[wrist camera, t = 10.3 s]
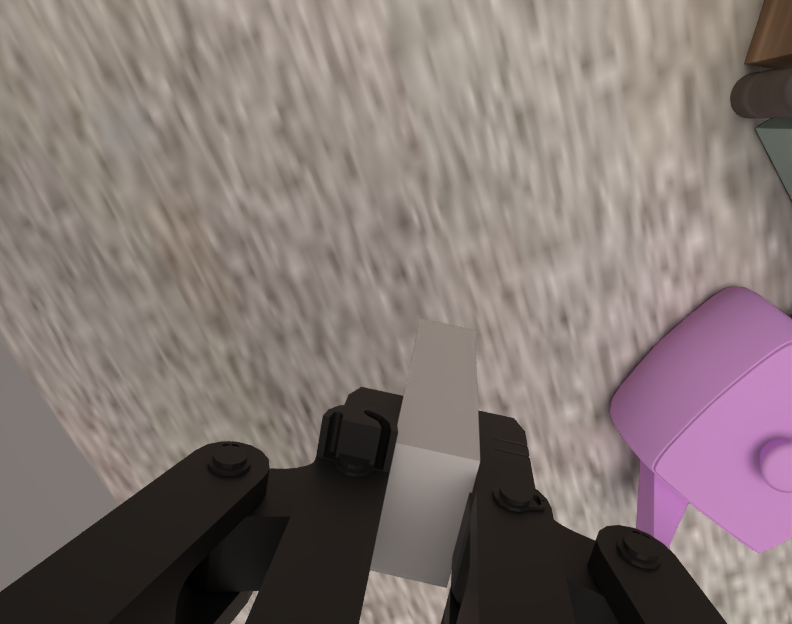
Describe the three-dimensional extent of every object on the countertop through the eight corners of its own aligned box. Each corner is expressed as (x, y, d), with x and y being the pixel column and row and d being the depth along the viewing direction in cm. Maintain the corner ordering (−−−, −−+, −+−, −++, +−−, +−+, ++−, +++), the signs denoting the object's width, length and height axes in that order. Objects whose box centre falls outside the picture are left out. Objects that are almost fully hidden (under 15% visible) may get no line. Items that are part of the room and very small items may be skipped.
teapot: (670, 525, 43) (725, 642, 33) (554, 435, 42) (576, 529, 32) (889, 338, 37) (1032, 414, 28) (761, 230, 37) (862, 270, 27)
